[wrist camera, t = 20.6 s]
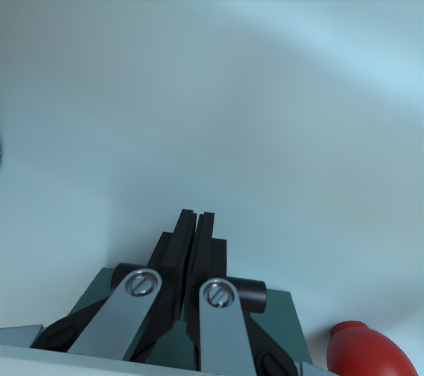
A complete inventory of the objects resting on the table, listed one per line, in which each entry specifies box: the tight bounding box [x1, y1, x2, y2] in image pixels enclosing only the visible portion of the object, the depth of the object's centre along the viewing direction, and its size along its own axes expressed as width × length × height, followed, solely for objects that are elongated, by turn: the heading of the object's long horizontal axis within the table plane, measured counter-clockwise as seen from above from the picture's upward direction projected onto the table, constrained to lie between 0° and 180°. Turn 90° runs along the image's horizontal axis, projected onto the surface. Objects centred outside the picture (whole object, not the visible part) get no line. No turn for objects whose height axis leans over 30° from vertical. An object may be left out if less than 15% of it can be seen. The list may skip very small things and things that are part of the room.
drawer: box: [68, 263, 313, 371], centre depth 16 cm, size 21×15×8 cm
